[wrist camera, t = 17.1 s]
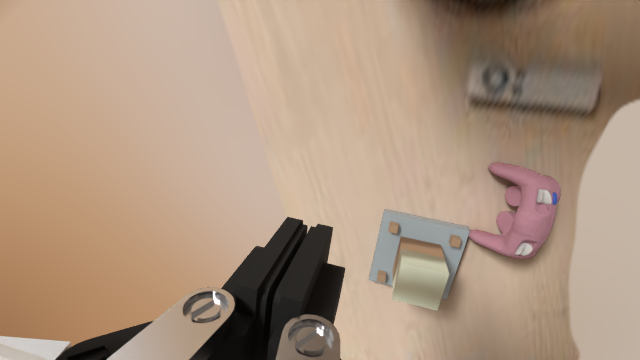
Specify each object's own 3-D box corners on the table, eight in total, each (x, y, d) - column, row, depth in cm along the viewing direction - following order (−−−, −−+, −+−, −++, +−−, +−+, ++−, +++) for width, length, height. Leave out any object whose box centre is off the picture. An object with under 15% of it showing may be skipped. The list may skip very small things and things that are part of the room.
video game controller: (493, 235, 38) (543, 270, 32) (462, 237, 37) (508, 273, 31) (518, 160, 35) (581, 182, 29) (485, 158, 34) (543, 181, 27)
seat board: (384, 209, 39) (384, 216, 37) (467, 226, 37) (472, 235, 35) (369, 274, 42) (368, 284, 40) (445, 293, 40) (447, 304, 38)
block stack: (400, 236, 38) (402, 263, 32) (440, 244, 37) (449, 274, 32) (392, 268, 40) (392, 299, 34) (430, 277, 39) (437, 310, 33)
